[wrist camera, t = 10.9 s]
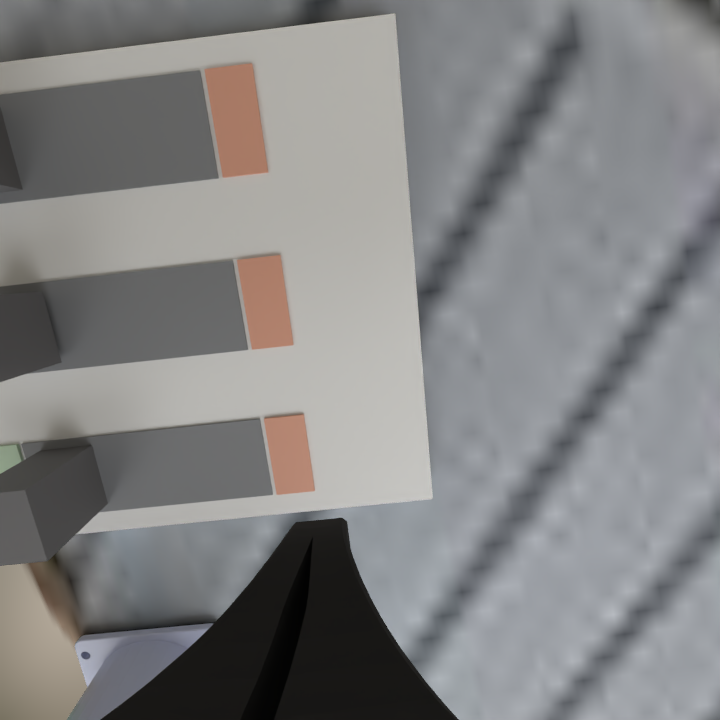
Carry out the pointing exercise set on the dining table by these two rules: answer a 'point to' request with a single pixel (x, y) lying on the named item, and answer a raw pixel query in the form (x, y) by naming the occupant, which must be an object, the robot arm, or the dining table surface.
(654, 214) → the dining table surface
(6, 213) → the panel
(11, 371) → the breaker
